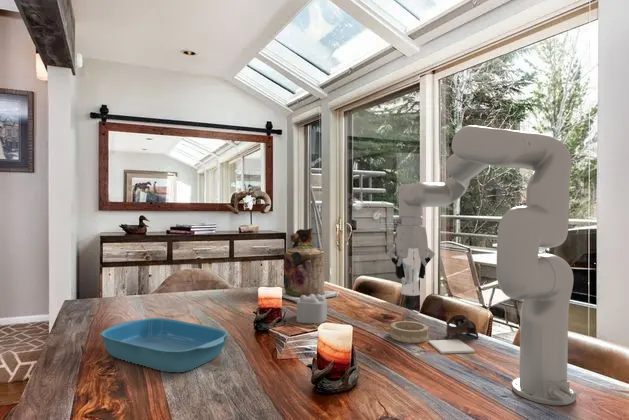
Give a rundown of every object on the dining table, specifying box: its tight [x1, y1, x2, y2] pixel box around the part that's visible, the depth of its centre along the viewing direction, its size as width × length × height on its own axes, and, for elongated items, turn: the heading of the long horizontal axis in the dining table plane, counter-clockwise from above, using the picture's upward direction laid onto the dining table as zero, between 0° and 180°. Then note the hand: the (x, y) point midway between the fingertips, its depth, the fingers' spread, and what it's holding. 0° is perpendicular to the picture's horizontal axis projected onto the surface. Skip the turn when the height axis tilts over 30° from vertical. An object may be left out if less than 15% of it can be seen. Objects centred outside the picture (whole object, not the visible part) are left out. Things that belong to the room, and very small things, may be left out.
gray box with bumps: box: [296, 294, 328, 325], centre depth 158 cm, size 10×13×9 cm
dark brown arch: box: [445, 313, 479, 339], centre depth 139 cm, size 12×10×8 cm
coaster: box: [427, 339, 476, 355], centre depth 127 cm, size 10×10×1 cm
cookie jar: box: [281, 227, 340, 303], centre depth 198 cm, size 25×25×32 cm
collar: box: [389, 320, 429, 344], centre depth 137 cm, size 12×12×4 cm
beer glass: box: [400, 248, 421, 297], centre depth 137 cm, size 7×7×15 cm
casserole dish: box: [100, 317, 229, 373], centre depth 118 cm, size 37×22×7 cm, turn 63°
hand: (410, 277), depth 137 cm, fingers closed on beer glass, 6 cm apart
